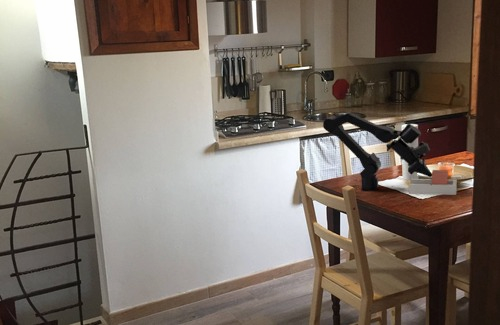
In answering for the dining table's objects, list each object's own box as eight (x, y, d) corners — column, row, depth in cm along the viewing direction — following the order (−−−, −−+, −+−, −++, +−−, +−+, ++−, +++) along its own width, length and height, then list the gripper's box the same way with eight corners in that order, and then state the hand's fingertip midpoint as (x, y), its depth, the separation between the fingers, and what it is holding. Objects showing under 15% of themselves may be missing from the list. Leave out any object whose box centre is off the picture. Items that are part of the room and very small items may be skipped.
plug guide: (408, 193, 221) (408, 184, 220) (410, 187, 229) (410, 178, 228) (456, 194, 214) (456, 185, 213) (456, 188, 222) (456, 179, 221)
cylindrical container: (421, 177, 242) (421, 124, 236) (411, 181, 238) (410, 127, 232) (409, 175, 247) (408, 123, 242) (399, 178, 244) (398, 126, 238)
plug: (432, 192, 219) (431, 173, 217) (432, 187, 224) (432, 169, 222) (447, 192, 216) (447, 173, 215) (447, 188, 222) (447, 170, 220)
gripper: (415, 142, 210) (445, 168, 208) (419, 133, 227) (446, 157, 225) (396, 161, 215) (424, 187, 213) (401, 150, 231) (427, 174, 230)
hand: (431, 175), depth 220 cm, fingers closed, pressing on plug
